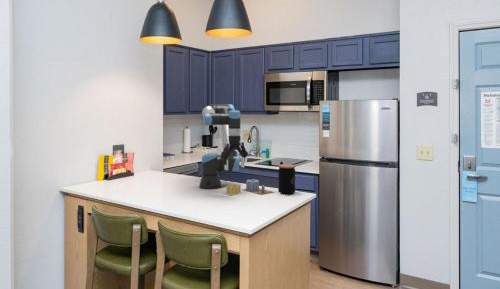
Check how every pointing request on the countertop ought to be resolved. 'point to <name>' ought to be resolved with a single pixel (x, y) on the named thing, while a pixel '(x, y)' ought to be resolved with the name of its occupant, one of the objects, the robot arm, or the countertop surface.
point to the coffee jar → (286, 179)
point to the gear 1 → (233, 189)
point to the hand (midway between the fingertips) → (234, 168)
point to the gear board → (260, 191)
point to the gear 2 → (252, 185)
